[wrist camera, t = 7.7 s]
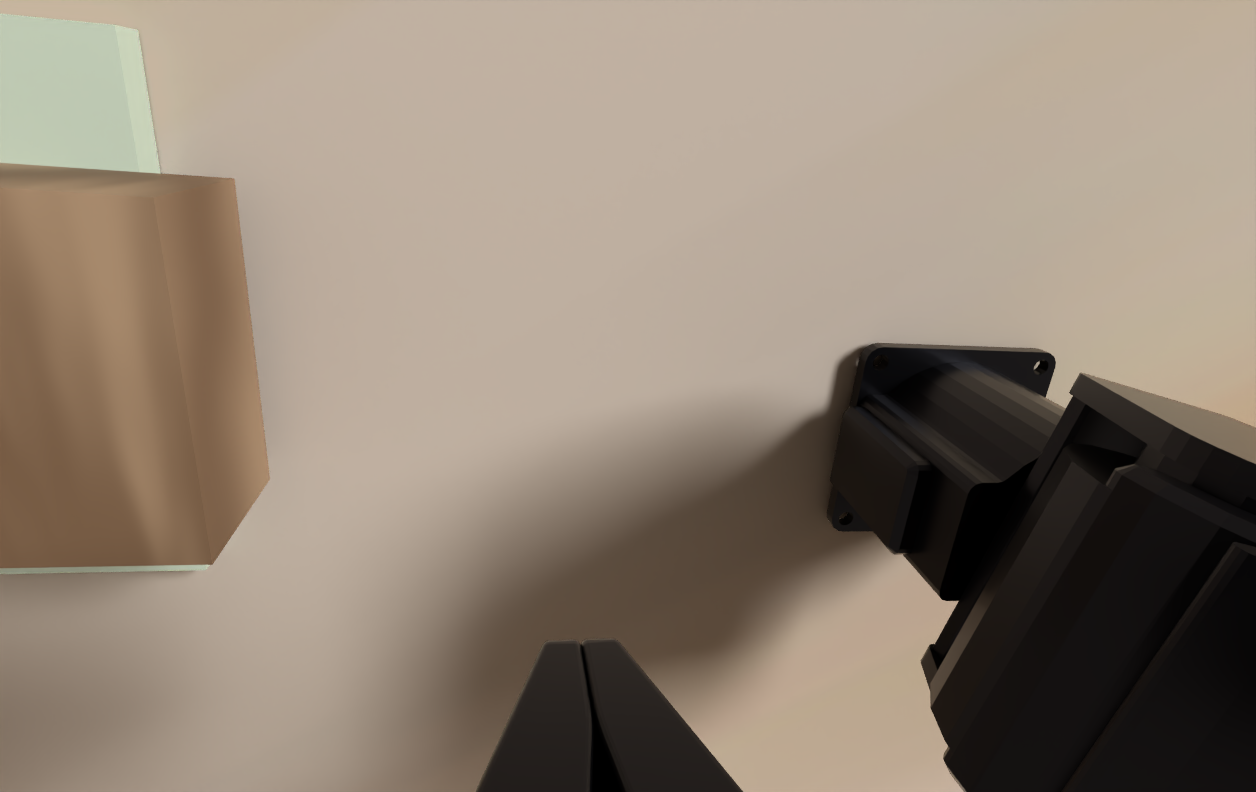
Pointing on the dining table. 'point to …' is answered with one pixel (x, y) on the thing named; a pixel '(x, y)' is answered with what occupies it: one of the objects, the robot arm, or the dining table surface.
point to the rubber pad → (75, 120)
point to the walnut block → (124, 369)
